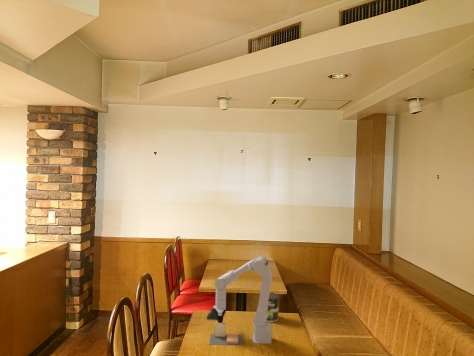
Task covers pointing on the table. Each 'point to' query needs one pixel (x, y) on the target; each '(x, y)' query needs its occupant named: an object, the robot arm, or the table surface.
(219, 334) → the tile
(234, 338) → the tile
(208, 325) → the table surface
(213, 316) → the phone
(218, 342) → the mat
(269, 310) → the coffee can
